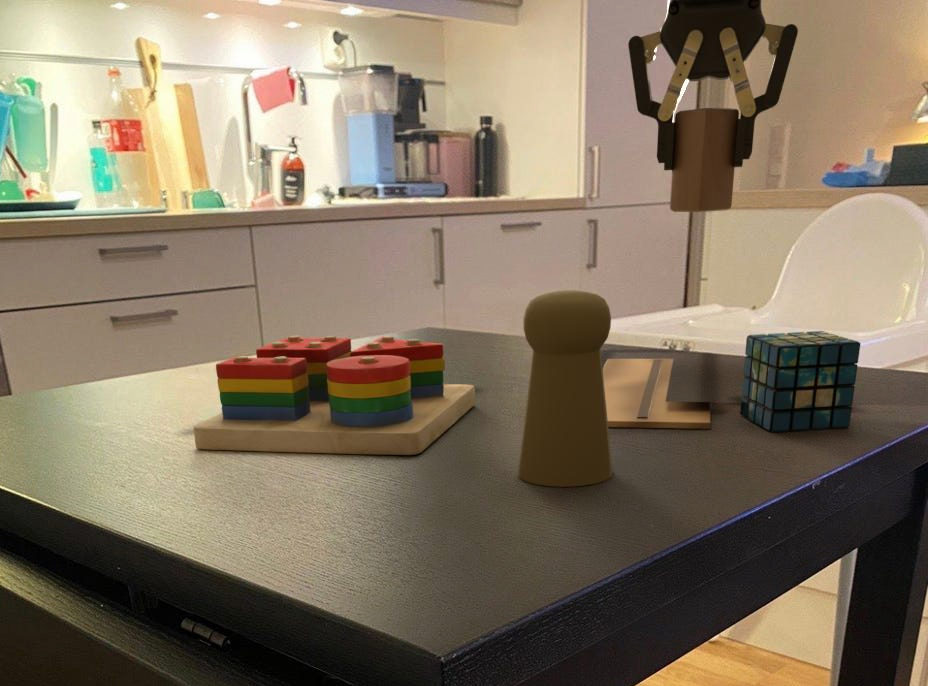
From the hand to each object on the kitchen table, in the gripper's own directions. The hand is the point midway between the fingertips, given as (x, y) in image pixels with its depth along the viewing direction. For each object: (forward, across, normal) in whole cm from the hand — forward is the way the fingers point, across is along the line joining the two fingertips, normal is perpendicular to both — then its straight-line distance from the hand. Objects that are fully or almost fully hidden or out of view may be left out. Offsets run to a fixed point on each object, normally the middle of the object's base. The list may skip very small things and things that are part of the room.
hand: (702, 167), depth 85 cm
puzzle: (+18, -8, +20) cm, 28 cm away
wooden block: (+4, 0, 0) cm, 4 cm away
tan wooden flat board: (+18, +3, +10) cm, 20 cm away
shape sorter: (+18, +26, +25) cm, 40 cm away
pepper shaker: (+18, +7, +37) cm, 41 cm away
